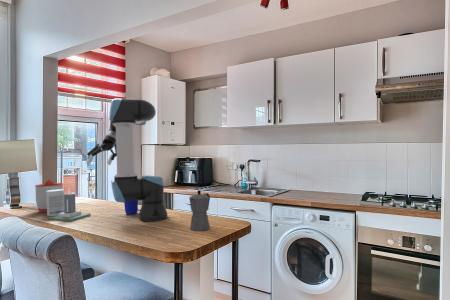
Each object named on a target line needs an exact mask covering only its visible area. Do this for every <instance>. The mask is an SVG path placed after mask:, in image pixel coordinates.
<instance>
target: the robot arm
mask: <svg viewBox="0 0 450 300" xmlns="http://www.w3.org/2000/svg"><path fill="white" fill-rule="evenodd" d="M155 116H156V107H155V106H154V105H153V104H152V103H151V102H149V101H147V100H144V99H135V98H114V99H112V100H111V103H110V108H109V118H108V119H109V121H110V125H109V128H108V131H107V132H106V135H105V137H104V138H103V140H102V143H101V144H100V143H96V145H95V146H94V147H93V148H91V150H89V151H88V152H87V153H86V155H87V156H88V157H87V160H86V164H87V166H90V165H91V163H92V161H93V160H94V157H95V156H97V155H98V154H99V153H101V152H105V151H106V152H108V151H110V153H111V154H110V155H109V158H108V159H107V164H108V166H111V165H112V162H113V161H114V160H115V158H116V174H115V175H114V176H113V177H114V178H113V179H112V180H111V190H112V195H113V199H114V200H115V202H117V203H124V202H126V201H136V200H138V201H141V207H140V209H141V210H140V209H139V210H140V211H139V214H138V219H139V221H143V222H156V221H162V220H165V219H167V218H168V211H167V208H166V205H165V199H164V198H165V190H164V189H165V188H164V186H165V185H164V178H163V177H162V176H157V175H146V174H145V175H144V174H143V175H141V177H139V178H138V174H137V173H136V172H135V157H134V155H135V154H134V127H135V126H145V125H146V124H147V122H149V121H151V120H153V119H154V117H155ZM113 148H114V150H113Z"/></svg>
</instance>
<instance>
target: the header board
mask: <svg viewBox="0 0 450 300" xmlns="http://www.w3.org/2000/svg"><path fill="white" fill-rule="evenodd" d="M90 216H92V214H91V213H86V212H84V213H83V212H82V211H81V210H76V212H74V213H65V212H62V213H59V215H57V216H48V220H49V221H59V222H60V221H61V222H62V221H63V222H75V221H77V220H80V219H84V218H87V217H90Z"/></svg>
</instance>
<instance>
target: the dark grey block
mask: <svg viewBox="0 0 450 300" xmlns="http://www.w3.org/2000/svg"><path fill="white" fill-rule="evenodd" d="M76 207H77V206H76V193H65V194H64V209H65V213H74V212H76V211H77V209H76Z"/></svg>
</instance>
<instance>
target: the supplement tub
mask: <svg viewBox="0 0 450 300" xmlns="http://www.w3.org/2000/svg"><path fill="white" fill-rule="evenodd" d="M64 195H65V189H64V188H63V189H57V190H49V191H46V204H47V212H46V215H47V216H48V217H53V216H57V215H59V213H62V212H65V209H64Z"/></svg>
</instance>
